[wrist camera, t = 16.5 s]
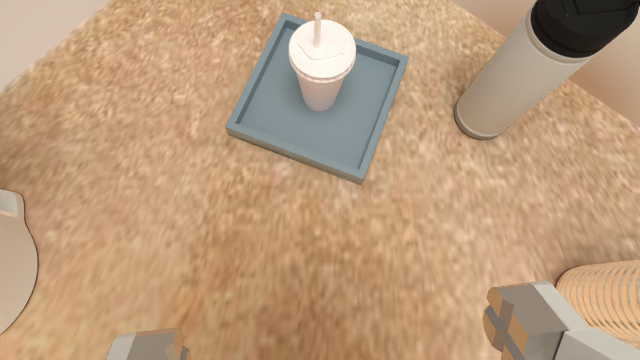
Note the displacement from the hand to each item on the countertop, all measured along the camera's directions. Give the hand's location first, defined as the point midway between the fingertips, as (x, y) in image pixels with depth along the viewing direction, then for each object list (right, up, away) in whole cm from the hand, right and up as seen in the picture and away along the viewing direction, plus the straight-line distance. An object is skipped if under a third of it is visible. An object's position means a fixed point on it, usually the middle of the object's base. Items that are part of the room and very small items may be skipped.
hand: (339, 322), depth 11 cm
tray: (-1, +13, +36) cm, 39 cm away
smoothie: (-1, +13, +36) cm, 38 cm away
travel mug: (+19, +11, +37) cm, 43 cm away
